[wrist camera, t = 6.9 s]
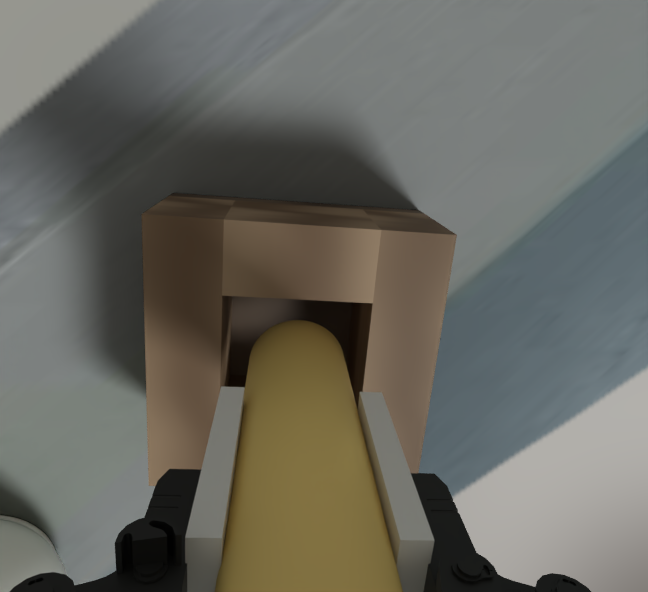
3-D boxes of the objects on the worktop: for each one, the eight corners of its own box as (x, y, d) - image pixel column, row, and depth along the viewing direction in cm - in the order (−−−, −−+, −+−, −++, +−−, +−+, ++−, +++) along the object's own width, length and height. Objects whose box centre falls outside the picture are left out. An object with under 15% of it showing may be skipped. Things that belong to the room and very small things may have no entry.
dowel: (247, 405, 22) (193, 816, 9) (250, 317, 21) (193, 648, 8) (340, 408, 23) (416, 807, 10) (348, 322, 22) (450, 645, 8)
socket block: (175, 413, 29) (148, 485, 23) (173, 193, 25) (141, 214, 19) (390, 420, 30) (415, 490, 24) (418, 210, 26) (456, 234, 21)
